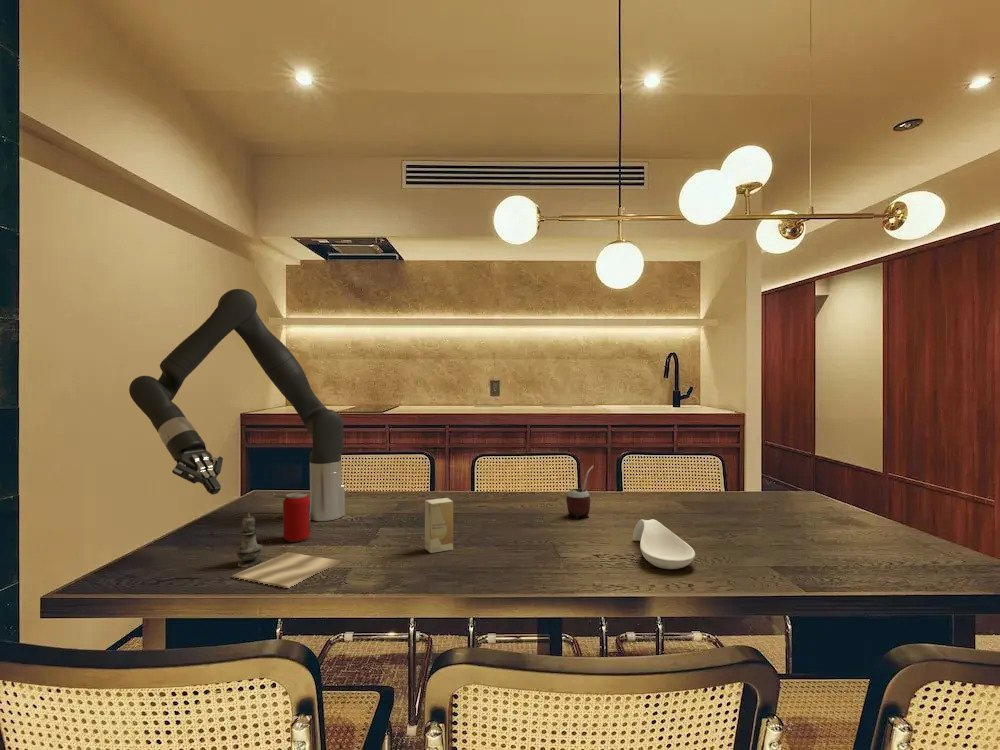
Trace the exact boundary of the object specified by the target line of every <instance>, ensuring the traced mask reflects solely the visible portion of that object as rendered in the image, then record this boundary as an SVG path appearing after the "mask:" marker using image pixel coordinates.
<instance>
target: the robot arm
mask: <svg viewBox="0 0 1000 750" xmlns="http://www.w3.org/2000/svg"><path fill="white" fill-rule="evenodd" d="M257 307H258V303H257V300H256V298H255V297H254V295H253V294H252V293H251V292H250V291H248V290H246V289H244V288H243V289H242V288H234V289H230V290H228V291H226V292H225V293H224V294H222V295H221V296H220V297H219V299H218V303H217V306H216V307H215V309H214V310H213V312H212V314H211V315H209V317H208V318H207V319H206V320H205V321H204V322H203V323H202V324H201V325H200V326H199V327H198V328H196V330H194V331H193V332H192V333H191V334H190V335H189V336H187V337H186V338H185V339H183V340H182V341H181V342H180V343H179V344H178V345H177V346H176V347H175V348H174V349H173V350H172V351H170V353H169V354H168V355H166V357H164V358H163V360H162V361H161V362H160V363H159V368H160V370H161V374H160V377H159V378H158V379H157V378H156V377H153V376H150V375H140V376H138V377H136V378H134V379H133V380H132V381H131V382H130V385H129V388H128V392H129V395H130V399H132V400H133V402H134V403H135V405H136V406H137V407H138V408H139V409H140V410H141V411H142V413H144V414H145V416H146V417H147V418H148V419H149V420H150V422H151V424H152V426H153V428H154V429H155V431H156V432H157V434H158V435H159V437H160V440H161V442H162V443H163V445H164V446H165V449H166V450H167V452H169V454H170V455H171V458H172V459H173V460H174V462H176V464H175V466H174V467H173V469H172V471H171V472H172V473H173V474H174V475H175V476H177V477H180V478H181V479H184V480H186V481H188V482H190V483H191V484H197V483H199V484H201V485H202V486H204V488H205V490H206V491H207V493H208V494H209V495H217V494H218V493H220V491H221V489H222V486H221V484H220V482H219V480H218V479H217V477H218V476H219V475H220V474H221V471H222V466H223V461H224V458H223V456H218V457H215V456H212V453H211V452H209V451H208V450H207V445H206V444H205V443H206V442H204V440H203V439H202V438H201V436H200V434H199V433H198V432H197V430H196V428H195V427H194V426H193V424H192V423H191V422H190V421H189V420H188V419H187V417H186V415H185V413H183V411H182V410H181V409H180V407H179V406H178V405H177V404H175V403H174V402H173V400H174V399H175V397H176V396H177V394H178V393H179V390H180V389H181V387H182V385H183V384H184V381H185V380H186V379H187V377H189V375H191V374H192V372H194V371H195V369H196V368H197V367H198V366H200V364H201V363H202V362H203V361H204V360H205V359H206V358H207V356H209V354H210V353H212V351H213V350H215V348H216V347H217V346H218V345H219V343H221V341H222V340H224V338H226V337H227V336H228V335H229V334H230V333H231V332H232V331H235V332H236V333H237V335H239V337H240V338H241V339H242V340H243V341H244V342H245V345H246V346H247V347H248V349H249V350H250V353H251V354H252V355H253V358H255V360H256V361H257V363H258V364H259V366H260V367H261V369H262V370H263V372H264V373H265V374H266V375H267V377H268V378H269V380H270V381H271V382H272V383H273V385H274V386H275V387H276V388H277V389H278V391H279V392H280V393H281V395H283V397H284V398H285V399H286V400H287V401H288V403H290V404H291V406H292V407H293V409H294V410H295V412H296V413H297V415H298V416H299V419H300V420H301V421H302V423H303V425H304V427H305V429H307V431H308V433H309V434H310V435H311V436H312V449H311V452H310V453H309V493H310V497H309V499H310V521H311V520H312V521H315V522H326V521H333V520H338V519H340V518H342V517H345V516H346V504H345V503H346V501H345V497H346V496H345V495H346V494H345V485H344V484H343V483H342V481H343V480H342V453H343V450H344V421H343V418H342V416H341V415H340V413H339V412H338V411H336V410H333V409H328V407H326V406H325V405H324V404H323V402H322V401H321V400H320V398H318V397H317V395H316V394H315V393H314V391H313V389H312V388H311V384H310V382H309V380H308V377H307V375H306V373H305V370H304V369H303V367H302V366H301V364H300V362H298V360H297V358H296V357H295V356H294V354H293V353H292V352H291V351H290V349H289V348H288V347H287V346H286V345H285V344H284V343H283V342H282V341H281V340H280V339H279V338H278V337H276V336H275V334H273V333H272V332H271V331H270V330H269V329H268V328H267V326H266V324H265V323H264V322H263V320H262V319H261V318H260V316H259V314H258V312H257Z"/></svg>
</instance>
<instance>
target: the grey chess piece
mask: <svg viewBox="0 0 1000 750" xmlns="http://www.w3.org/2000/svg"><path fill="white" fill-rule="evenodd" d="M256 533H258V530H257V529H256V518H255V517H254V516H252V515H251V513H250V512H247V513H246V516H244V517H243V518H242V519H241V531H240V535H241V543H240V546H238V547H237V548H235V549H234V552H235V553H236V556H237V558H238V559H240V561H239V562H238V563H237V564H239V565H240V566H253V565H256V564H259V563H260V562H261V561H262V560H261V559H259V556H260V555H261V553H262V549H263V545H262V544H261V543H260V544H259V543H258V542H257V534H256ZM261 563H262V562H261ZM261 563H260V564H261ZM253 567H254V566H253Z"/></svg>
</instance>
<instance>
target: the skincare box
mask: <svg viewBox="0 0 1000 750" xmlns="http://www.w3.org/2000/svg"><path fill="white" fill-rule="evenodd" d="M424 549H425V550H426V551H427V552H428V553H430V554H434V553H439V552H446V551H453V550H454V501H453V500H451V499H450V498H448V497H443V498H434V499H426V500H424Z"/></svg>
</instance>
